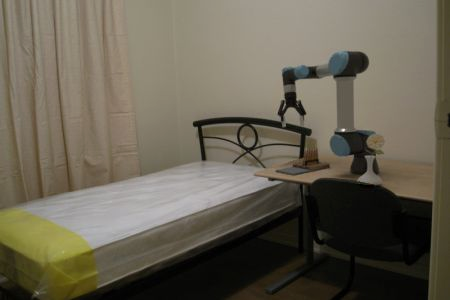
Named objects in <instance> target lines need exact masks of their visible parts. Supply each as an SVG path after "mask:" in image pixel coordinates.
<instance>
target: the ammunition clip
mask: <svg viewBox="0 0 450 300" xmlns="http://www.w3.org/2000/svg"><path fill="white" fill-rule="evenodd" d="M302 162H303V166H308V165H313V164H318V163H319V162H320V161H319V150H318V147H311V148H307V149H306V148H304V151H303V161H302Z"/></svg>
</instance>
